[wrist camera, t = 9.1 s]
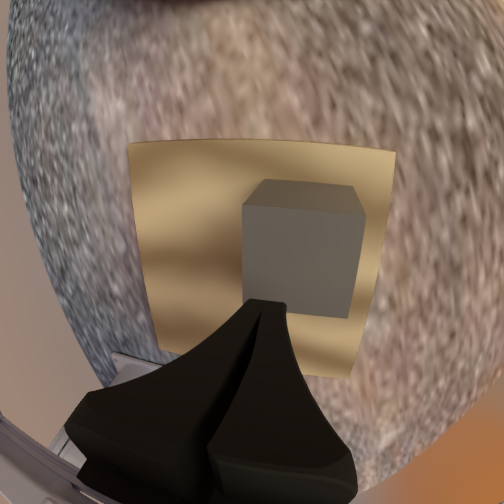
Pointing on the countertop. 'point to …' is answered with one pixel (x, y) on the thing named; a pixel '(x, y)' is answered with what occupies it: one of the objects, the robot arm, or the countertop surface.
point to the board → (230, 235)
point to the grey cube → (302, 246)
